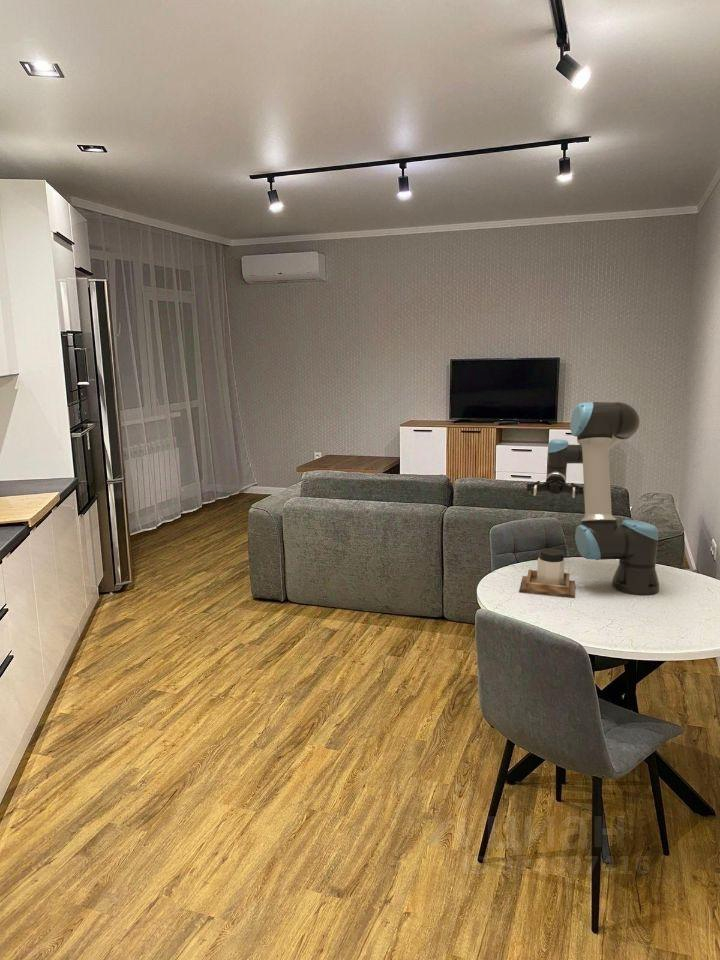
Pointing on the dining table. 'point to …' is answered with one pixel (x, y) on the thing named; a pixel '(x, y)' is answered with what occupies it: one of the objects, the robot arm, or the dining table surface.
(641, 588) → the robot arm
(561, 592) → the wooden tray
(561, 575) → the jar
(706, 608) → the dining table surface
